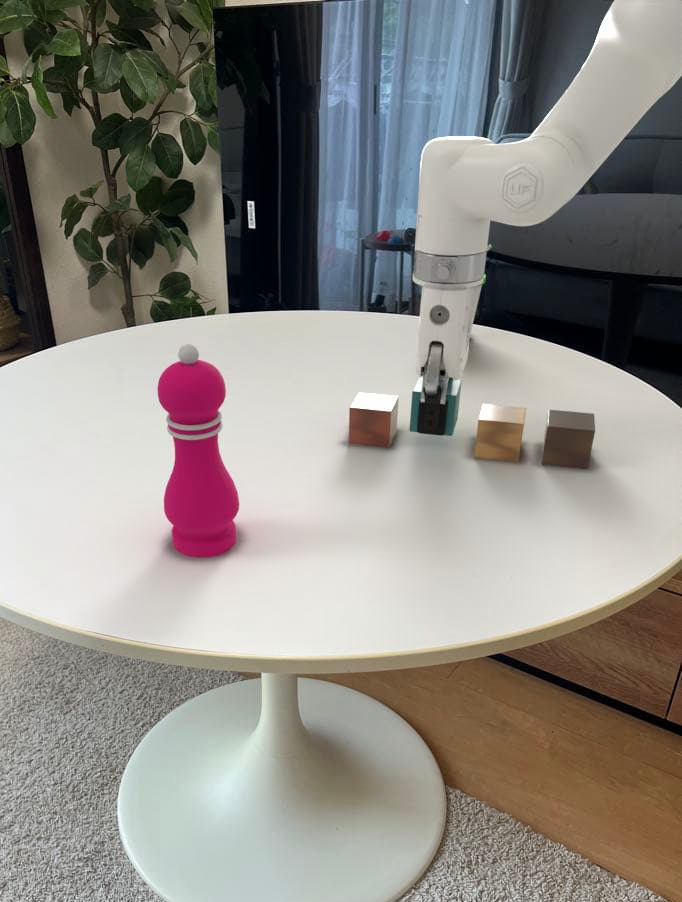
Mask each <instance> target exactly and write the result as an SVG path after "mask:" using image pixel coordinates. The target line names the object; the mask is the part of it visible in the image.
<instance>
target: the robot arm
mask: <svg viewBox="0 0 682 902" xmlns="http://www.w3.org/2000/svg"><path fill="white" fill-rule="evenodd" d="M681 77H682V0H613V2H612V3H611V5H610V7H609V9H608V11H607V12H606V14H605V16H604V18H603V20H602V22H601V25H600V27H599V30H598V33H597V36H596V39H595V42H594V44H593V46H592V49H591V51H590V53H589V55H588V57H587V58H586V60H585V61H584V63H583V65H582V67H581V68H580V70H579V72H578V73H577V74H576V76H575V77H574V79H573V80H572V81H571V83H570V85H568V88H567V89H566V90H565V91H564V93H563V94H562V96H561V97H560V98H559V100H558V101H557V102H556V103H555V105H554V106H553V107H552V109H551V110H550V111H549V113H548V114H547V115H546V116H545V117H544V119H543V120H542V121H541V123H540V124H539V125H538V127H536V129H535V130H534V131H533V132H532V133H531V135H530V136H529V137H527V138H524V139H522V140H519V141H514V142H507V143H496V144H495V143H494V142H493V140H491V139H489V138H485V137H481V136H468V135H466V136H465V135H463V136H461V135H457V136H454V135H453V136H443V137H436V138H434V139H431V140H430V141H428V142H427V143H425V145H424V147H423V149H422V151H421V157H420V167H419V179H418V180H419V181H418V182H419V183H418V196H417V197H418V198H417V211H416V223H415V224H416V225H415V238H414V239H415V241H414V253H413V270H412V282H413V283H415V284H417V285H418V286H421V296H420V304H419V307H420V308H419V318H418V319H419V321H418V333H417V348H416V349H417V350H416V374H417V375H418V376H419V377H423V382H422V390H421V399H420V400H419V410H418V423H417V432H416V433H418V434H423V435H430V436H432V435H433V436H439V437H440V436H445V435H444V434H445V429H446V419H447V409H448V402H446V395H447V387H448V380H449V379H451V380H460V378H462V376H463V373H464V371H465V370H464V369H465V367H466V364H467V362H468V361H467V360H468V358H469V351H470V349H469V348H470V337H471V333H470V327H471V317H472V305H473V287H475V286H478V285H480V284H482V283H483V279H484V274H485V269H486V262H487V261H486V260H487V252H488V251H487V247H488V246H489V235H490V226H491V222H496V223H501V224H504V225H508V226H515V227H531V226H535V225H538V224H541V223H543V222H545V221H547V220H548V219H549V218H551V217H552V216H553V215H555V213H557V212H558V211H559V210H560V209H561V208H562V207H563V206H565V205H566V204H567V203H569V202H570V201H571V200H572V199H573V198H574V197H575V196H576V195H577V194H578V192H579V191H580V190H581V189H582V188H583V187H584V185H585V184H586V183H587V182H588V181H589V180H590V178H591V177H592V176H593V175H594V174H595V173H596V172H597V170H598V169H599V168H600V167H601V166H602V164H604V162H605V161H607V158H609V156H610V155H611V154H612V153H613V152H614V150H615V149H616V148H617V147H618V146H619V144H620V143H621V142H622V141H623V140H624V139H625V138H626V137H627V135H629V133H630V132H631V131H632V129H633V128H634V127H635V126H636V125H637V123H638V122H639V121H640V120H641V119H642V118H643V116H644V115H646V113H647V112H648V111H649V110H650V109H651V108H652V107H653V105H654V104H655V103H656V102H657V101H659V100H660V98H662V97H663V96H664V95H665V94H666V93H667V92H669V90H670V89H672V88H673V86H674V85H676V83H677V82H678V81H679V80H680V78H681ZM438 381H443V382H442V389H441V386H439V385H438Z"/></svg>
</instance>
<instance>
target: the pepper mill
mask: <svg viewBox="0 0 682 902" xmlns="http://www.w3.org/2000/svg"><path fill="white" fill-rule="evenodd" d="M177 355H178V359H179V361H176V362H173V363H172V364H170V365H168V366H167V368H165V369H164V371H163V372H162V373H161V375H160V376H159V379H158V383H157V397H158V401H159V404H160V406H161V407H162V408H163V410H164V411H165V412H167V413H168V414H167V416H166V418H165V421H166V423H167V428H166V430H167V433H168V434H169V435H170V436H172V439H173V443H174V463H173V467H172V471H171V474H170V476H169V479H168V481H167V483H166V485H165V491H164V495H163V512H164V515H165V517H166V519H167V521H168V522H169V523H170V524H171V525H172V527H171V537H172V545H173V548H174V549H175V550H176V551H177V552H178V553H179V554H181V555H183V556H187V557H191V558H211V557H216V556H220V555H223V554H224V553H226V552H228V551H230V550H232V548H233V547H234V546H235V545H236V542H237V527H236V526H237V525H236V523H235V522H234V520H235V518H236V517H237V515H238V512H239V510H240V498H239V492H238V490H237V487H236V485H235V484H236V483H235V481H234V480H233V478H232V476H231V475H230V473H229V471H228V469H227V468H226V466H225V464H224V461H223V458H222V456H221V453H220V447H219V433H220V432H221V431H222V430H223V427H224V426H223V425H224V424H223V422H222V419H223V414H222V412H221V411H220V410H219V409H220V408H221V407H222V405H223V404H224V402H225V399H226V396H227V389H226V388H227V387H226V382H225V379H224V377H223V375H222V373H221V371H220V370H219V369H218V368H217V367H216V366H215V365H213V364H211V363H209V362H207V361H206V360H201V359H199V358H200V352H199V350H198V348H197V347H196V345H194V344H192V343H186V344H182V346H180V348H179V349H178V353H177Z"/></svg>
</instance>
